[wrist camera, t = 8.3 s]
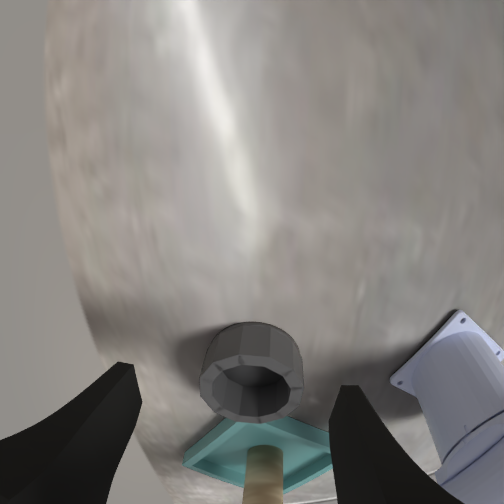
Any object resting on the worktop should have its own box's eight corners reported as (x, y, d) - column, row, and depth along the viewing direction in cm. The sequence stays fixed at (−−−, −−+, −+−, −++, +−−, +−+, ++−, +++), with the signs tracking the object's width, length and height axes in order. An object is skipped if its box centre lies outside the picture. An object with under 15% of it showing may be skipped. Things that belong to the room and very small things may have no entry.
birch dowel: (289, 449, 26) (289, 525, 19) (274, 464, 28) (271, 534, 20) (255, 441, 26) (248, 519, 18) (242, 457, 27) (234, 529, 20)
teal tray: (351, 440, 26) (354, 455, 25) (277, 485, 30) (277, 497, 29) (247, 398, 24) (245, 414, 23) (185, 451, 29) (181, 465, 27)
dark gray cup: (318, 350, 22) (324, 384, 19) (265, 400, 24) (263, 433, 21) (240, 305, 21) (233, 337, 18) (193, 363, 23) (183, 396, 20)
